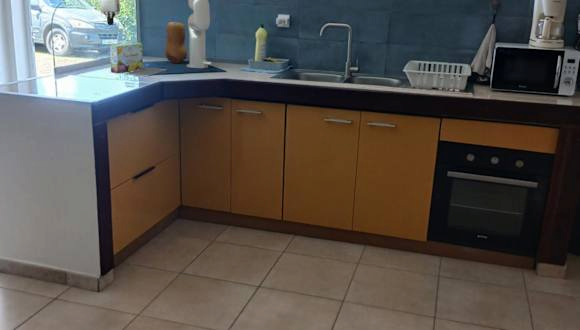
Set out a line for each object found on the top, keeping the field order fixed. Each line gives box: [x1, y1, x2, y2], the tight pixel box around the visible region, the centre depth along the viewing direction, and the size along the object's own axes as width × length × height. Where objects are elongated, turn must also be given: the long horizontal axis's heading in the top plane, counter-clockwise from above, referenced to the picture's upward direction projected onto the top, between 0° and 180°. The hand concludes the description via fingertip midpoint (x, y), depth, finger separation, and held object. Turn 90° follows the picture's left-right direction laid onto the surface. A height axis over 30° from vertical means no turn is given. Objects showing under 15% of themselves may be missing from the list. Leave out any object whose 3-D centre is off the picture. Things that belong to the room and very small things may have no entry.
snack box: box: [109, 42, 144, 74], centre depth 337 cm, size 21×6×15 cm, turn 154°
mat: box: [125, 67, 167, 77], centre depth 336 cm, size 14×24×1 cm, turn 166°
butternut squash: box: [164, 21, 188, 64], centre depth 371 cm, size 14×13×25 cm
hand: (110, 24), depth 333 cm, fingers closed
